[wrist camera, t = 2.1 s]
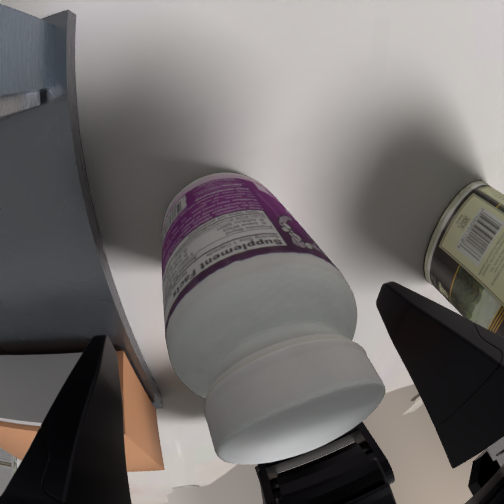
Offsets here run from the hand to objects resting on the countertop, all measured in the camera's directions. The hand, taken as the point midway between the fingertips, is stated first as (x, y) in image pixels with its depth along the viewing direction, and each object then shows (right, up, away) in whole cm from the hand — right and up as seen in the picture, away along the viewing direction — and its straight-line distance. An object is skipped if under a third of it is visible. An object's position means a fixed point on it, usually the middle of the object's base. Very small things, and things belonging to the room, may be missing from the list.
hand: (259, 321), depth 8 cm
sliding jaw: (-13, -7, +6) cm, 16 cm away
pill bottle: (-2, +3, +5) cm, 6 cm away
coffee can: (+18, +4, +11) cm, 21 cm away
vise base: (-13, 0, +3) cm, 13 cm away
